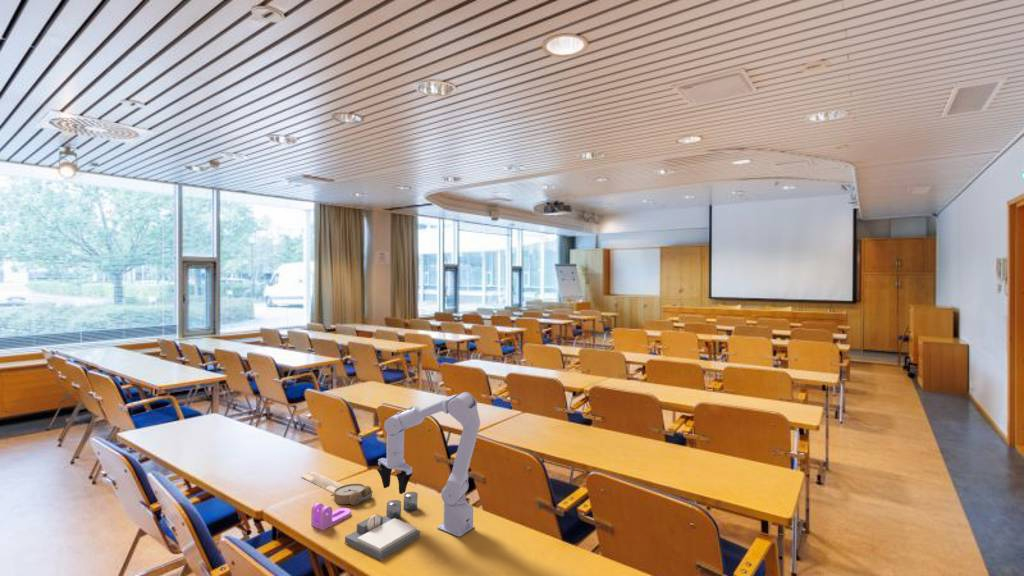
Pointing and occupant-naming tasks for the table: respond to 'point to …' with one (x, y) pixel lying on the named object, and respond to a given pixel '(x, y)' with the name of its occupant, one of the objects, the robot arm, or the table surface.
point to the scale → (382, 536)
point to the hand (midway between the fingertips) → (394, 490)
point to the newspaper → (322, 481)
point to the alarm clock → (352, 494)
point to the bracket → (327, 516)
